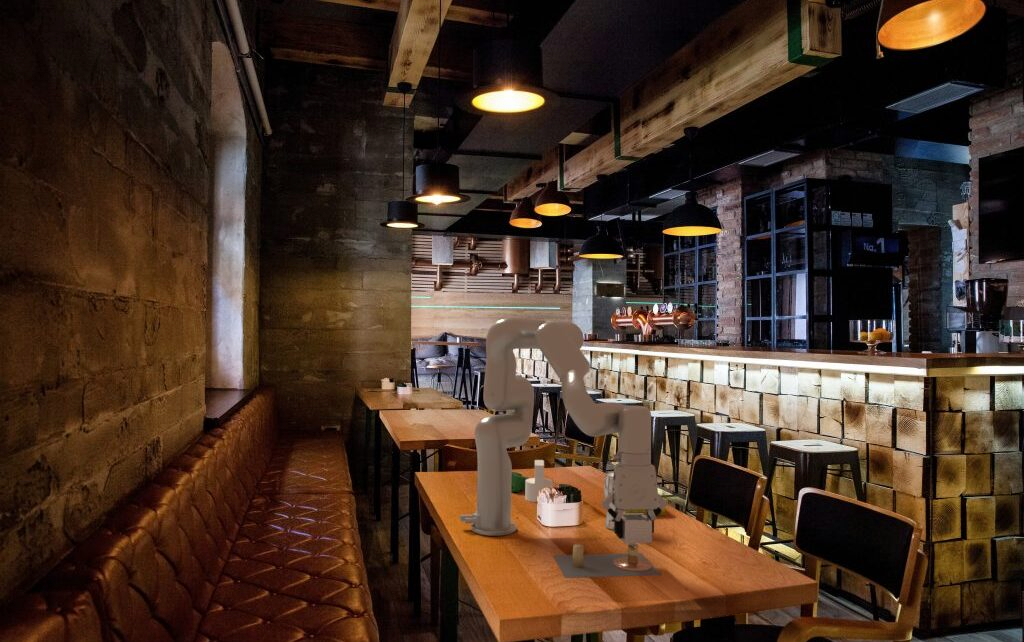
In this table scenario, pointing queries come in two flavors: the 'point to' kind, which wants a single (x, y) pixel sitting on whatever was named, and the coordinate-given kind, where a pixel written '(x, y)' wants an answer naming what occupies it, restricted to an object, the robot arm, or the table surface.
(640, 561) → the peg on flat base
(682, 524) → the table surface
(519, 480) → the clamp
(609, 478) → the beer glass
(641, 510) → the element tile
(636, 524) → the steel collar
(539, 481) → the cylinder with rectangular tab
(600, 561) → the stand board
